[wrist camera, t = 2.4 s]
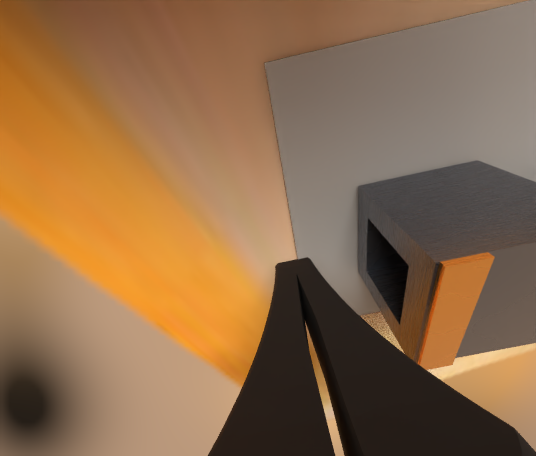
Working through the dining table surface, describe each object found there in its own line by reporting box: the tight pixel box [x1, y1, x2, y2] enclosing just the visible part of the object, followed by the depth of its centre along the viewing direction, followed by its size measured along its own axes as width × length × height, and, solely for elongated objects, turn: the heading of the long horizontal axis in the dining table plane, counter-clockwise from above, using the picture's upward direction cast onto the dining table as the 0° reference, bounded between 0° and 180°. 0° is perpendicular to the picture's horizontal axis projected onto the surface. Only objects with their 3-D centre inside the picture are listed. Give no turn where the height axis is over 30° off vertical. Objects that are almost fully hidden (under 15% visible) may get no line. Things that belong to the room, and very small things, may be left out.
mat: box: [264, 0, 536, 316], centre depth 12 cm, size 18×14×1 cm
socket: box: [358, 160, 536, 370], centre depth 10 cm, size 5×5×5 cm
